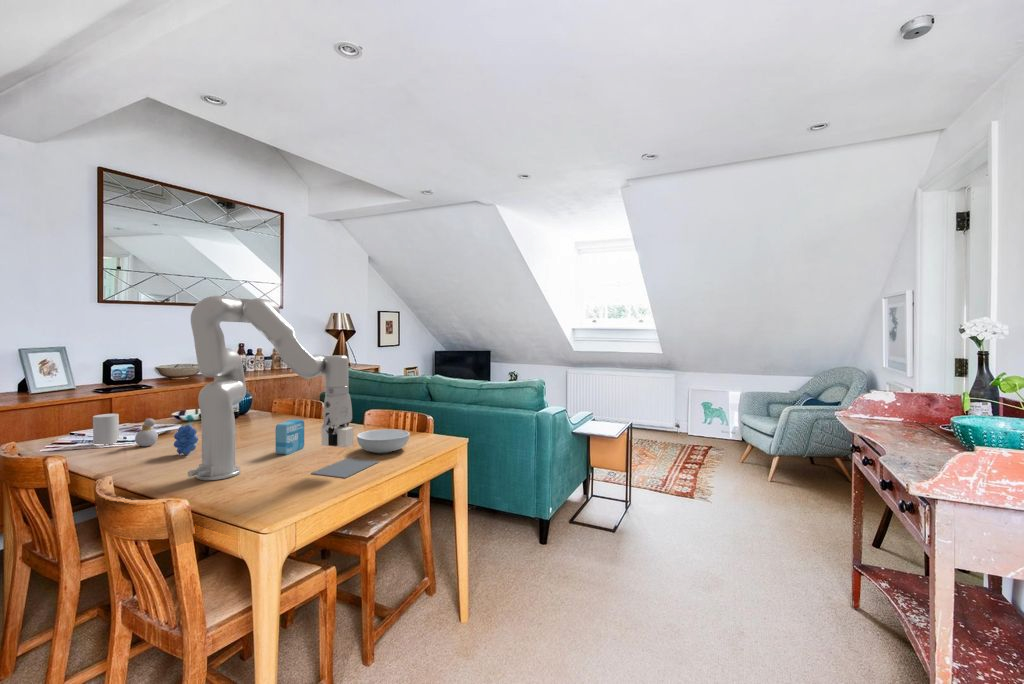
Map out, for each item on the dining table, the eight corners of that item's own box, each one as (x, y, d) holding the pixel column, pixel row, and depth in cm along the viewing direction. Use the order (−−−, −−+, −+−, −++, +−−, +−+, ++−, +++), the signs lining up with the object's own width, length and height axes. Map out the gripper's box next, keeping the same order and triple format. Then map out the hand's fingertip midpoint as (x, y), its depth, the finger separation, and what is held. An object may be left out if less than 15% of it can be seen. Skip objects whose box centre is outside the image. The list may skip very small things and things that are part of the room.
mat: (345, 478, 154) (345, 477, 154) (310, 473, 158) (310, 473, 158) (379, 462, 173) (379, 461, 173) (347, 458, 177) (347, 457, 177)
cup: (122, 443, 196) (121, 415, 196) (97, 447, 189) (97, 418, 189) (114, 440, 200) (114, 412, 200) (90, 444, 193) (89, 415, 193)
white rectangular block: (346, 447, 157) (346, 429, 157) (321, 445, 160) (321, 428, 160) (353, 444, 161) (353, 427, 161) (329, 442, 164) (329, 425, 164)
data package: (285, 455, 180) (285, 425, 180) (275, 455, 181) (275, 424, 181) (304, 448, 192) (304, 419, 192) (294, 447, 193) (294, 418, 193)
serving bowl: (420, 448, 194) (420, 432, 193) (382, 460, 176) (382, 442, 175) (384, 441, 204) (384, 426, 204) (345, 452, 186) (345, 435, 186)
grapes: (207, 453, 181) (207, 423, 181) (190, 458, 175) (190, 426, 175) (186, 450, 185) (185, 421, 185) (168, 455, 179) (168, 424, 178)
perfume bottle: (149, 443, 197) (148, 414, 196) (166, 444, 194) (166, 416, 194) (130, 447, 190) (130, 418, 189) (148, 449, 187) (148, 419, 187)
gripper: (329, 395, 151) (330, 450, 151) (361, 388, 167) (361, 439, 167) (310, 394, 153) (311, 449, 153) (343, 387, 169) (343, 437, 169)
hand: (337, 443), depth 160 cm, fingers closed on white rectangular block, 4 cm apart
